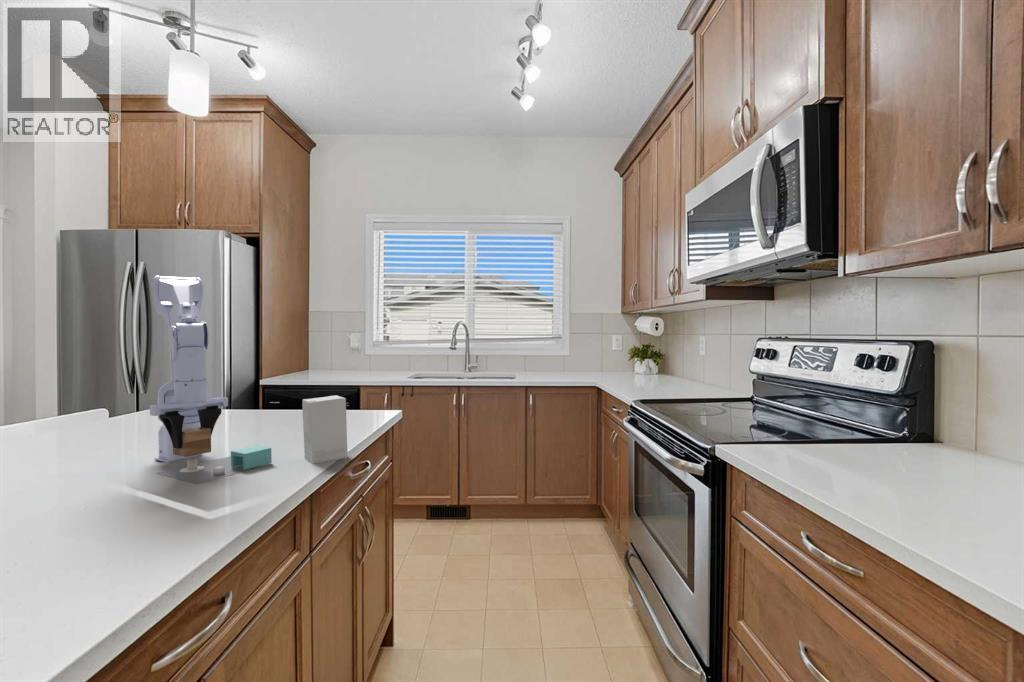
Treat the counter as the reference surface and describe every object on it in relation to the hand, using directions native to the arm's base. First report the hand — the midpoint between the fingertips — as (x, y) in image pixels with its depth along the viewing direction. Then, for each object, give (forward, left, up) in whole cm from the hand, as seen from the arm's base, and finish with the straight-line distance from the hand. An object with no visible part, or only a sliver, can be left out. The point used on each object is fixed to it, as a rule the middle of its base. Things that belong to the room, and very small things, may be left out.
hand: (191, 445), depth 105 cm
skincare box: (+17, +20, -6) cm, 27 cm away
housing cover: (+8, +8, -5) cm, 12 cm away
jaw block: (0, 0, -2) cm, 2 cm away
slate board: (+3, +3, -6) cm, 8 cm away
